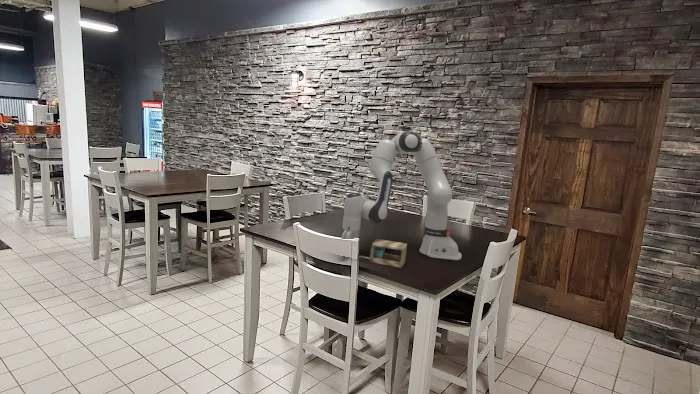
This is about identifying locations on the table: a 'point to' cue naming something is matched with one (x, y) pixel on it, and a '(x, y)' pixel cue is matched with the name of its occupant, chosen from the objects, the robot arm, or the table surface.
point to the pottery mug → (390, 251)
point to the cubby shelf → (389, 256)
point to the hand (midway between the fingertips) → (349, 251)
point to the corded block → (376, 253)
